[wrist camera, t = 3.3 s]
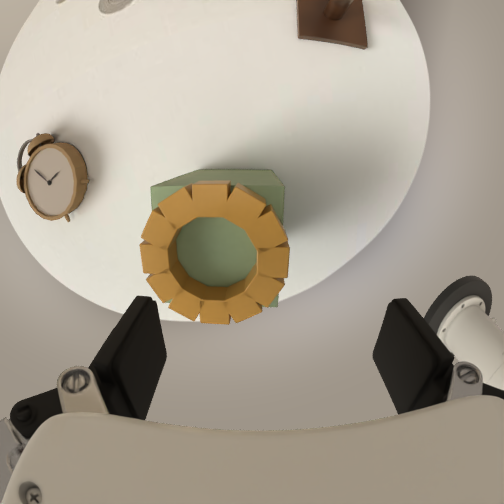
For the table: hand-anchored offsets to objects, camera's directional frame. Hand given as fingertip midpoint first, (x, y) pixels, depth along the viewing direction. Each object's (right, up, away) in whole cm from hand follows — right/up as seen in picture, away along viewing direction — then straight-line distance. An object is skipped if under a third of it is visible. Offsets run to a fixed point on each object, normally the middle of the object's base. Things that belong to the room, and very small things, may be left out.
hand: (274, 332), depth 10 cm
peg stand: (+9, +34, +14) cm, 38 cm away
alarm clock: (-31, +15, +22) cm, 41 cm away
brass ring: (-3, +3, +8) cm, 9 cm away
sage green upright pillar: (-3, +9, +24) cm, 25 cm away
